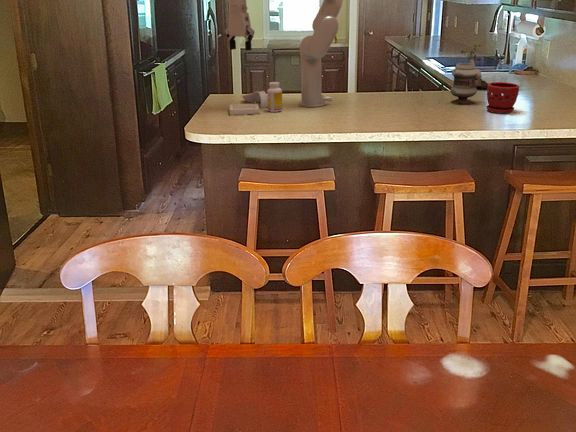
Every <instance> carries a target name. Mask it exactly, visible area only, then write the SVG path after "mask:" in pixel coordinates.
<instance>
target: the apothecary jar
mask: <svg viewBox="0 0 576 432" xmlns="http://www.w3.org/2000/svg"><path fill="white" fill-rule="evenodd" d="M454 67H455V66H454ZM451 75H452V76H453V86H452V87H451V88H450V91H449V92H450V94H451V95H452V96H454V97H456V99H453V100H452V101H451V103H452V104H454V105H461V106H464V105H465V106H466V105H467V106H468V105H473V104H474V101H473V100H470V99H468V98H472V97H473V96H475V95H476V94H477V92H478V89H477V88H476V87H475V77H476V76H477V75H478V70H477V68H476V64H475V63H474V64H473V63H471V62H461V63H459V62H458V63H456V67H455V68H454V69H452V71H451Z"/></svg>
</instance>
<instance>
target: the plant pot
mask: <svg viewBox="0 0 576 432" xmlns="http://www.w3.org/2000/svg"><path fill="white" fill-rule="evenodd" d="M488 83H489V84H488V87H487V90H486V100H487V104H488V105H486V107H485V108H486V110H487V111H488V112H490V113H494V114H510V113H512V112H513V111H514V110H515V107H514V105H515V104H516V102H517V98H518V96H519V92H520V85H519V84H518V83H512V82H507V81H505V82H501V81H498V82H497V81H495V82H488Z"/></svg>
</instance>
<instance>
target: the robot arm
mask: <svg viewBox="0 0 576 432" xmlns="http://www.w3.org/2000/svg"><path fill="white" fill-rule="evenodd" d="M343 1H344V0H323V2H322V3H321V6H320V7H319V9H318V12H317V13H316V15H315V17H314V19H313V21H312V26H311V27H312V30H313V34H312V35H307V36H305V37H303V38H302V40H301V41H300V44H299V55H300V75H301V76H300V77H301V79H300V80H301V81H300V82H301V83H300V85H301V88H300V89H301V93H300V94H301V101H298V103H297V104H298V105H297V106H298V107H299V106H300V107H302V106H303V108H305V107H306V108H319V107H323V106H325V105H326V103H325V102H331V101H332V96H324V95H323V93H322V79H323V78H322V73H323V72H322V68H323V67H322V65H323V63H322V58H323V57H324V56H326V54H327V53H328V51H329V49H330V47H331V45H332V43H333V41H334V40H335V38H336V36H337V33H338V30H339V22H338V19H337V18H338V15H339V12H340V10H341V8H342V5H343ZM228 7H229V8H228V9H229V13H228V27H227V28H226V29H225V30H224V31H225V34H226V37H227V39H228V41H229V49H230V51H231V50H236V49H237V44H236V43H237V42H236V37H242V38H244V40H245V42H244V44H245V45H244V47H245V51H251V50H252V41H253V38H254V35H255V29H253V28H252V25H251V23H252V22H251V19H250V15H249V12H248V9H249V8H248V6H247V0H228Z"/></svg>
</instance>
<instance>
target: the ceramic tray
mask: <svg viewBox="0 0 576 432" xmlns="http://www.w3.org/2000/svg"><path fill="white" fill-rule="evenodd" d="M244 114H259V115H260V107H259V103H238V104H236V103H234V104H229V116H230V115H233V116H245V115H244Z"/></svg>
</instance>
